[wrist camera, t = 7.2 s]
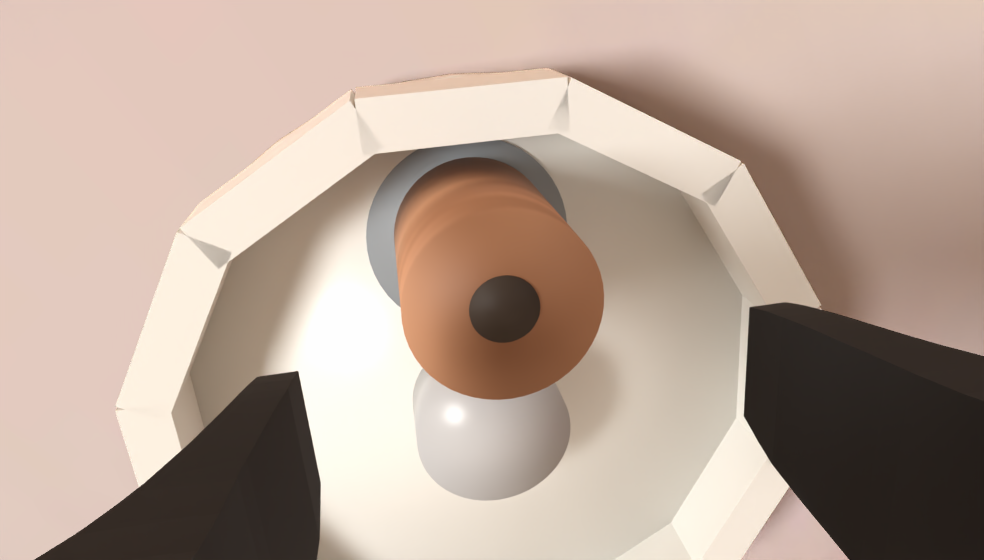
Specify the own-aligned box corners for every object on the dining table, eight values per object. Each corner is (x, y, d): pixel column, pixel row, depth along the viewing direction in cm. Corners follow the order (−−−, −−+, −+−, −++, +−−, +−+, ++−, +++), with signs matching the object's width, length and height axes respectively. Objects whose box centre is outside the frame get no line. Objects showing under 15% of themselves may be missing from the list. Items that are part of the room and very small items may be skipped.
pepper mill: (544, 148, 19) (601, 198, 14) (552, 295, 20) (607, 385, 15) (384, 166, 18) (388, 224, 14) (404, 316, 20) (414, 414, 15)
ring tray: (783, 40, 20) (846, 48, 17) (750, 566, 26) (792, 629, 24) (78, 111, 18) (28, 132, 15) (234, 661, 24) (218, 741, 22)
